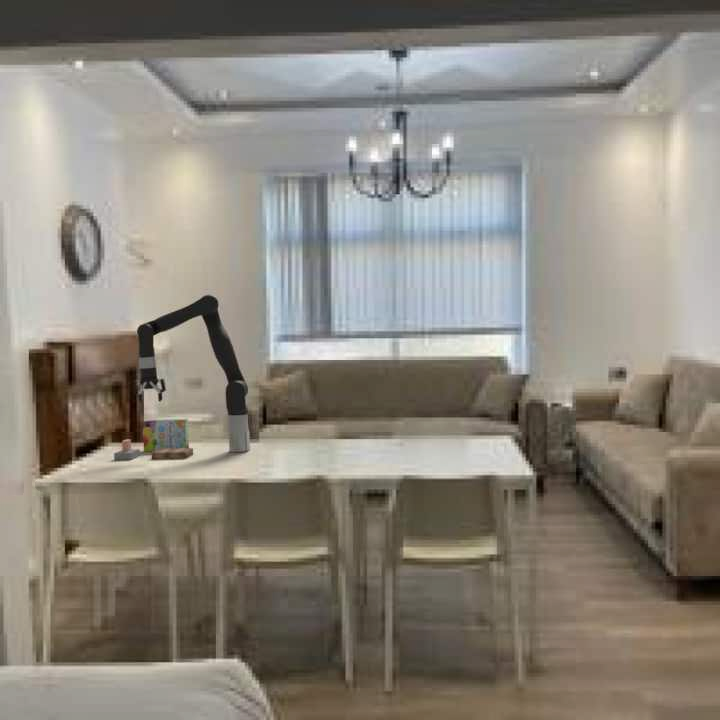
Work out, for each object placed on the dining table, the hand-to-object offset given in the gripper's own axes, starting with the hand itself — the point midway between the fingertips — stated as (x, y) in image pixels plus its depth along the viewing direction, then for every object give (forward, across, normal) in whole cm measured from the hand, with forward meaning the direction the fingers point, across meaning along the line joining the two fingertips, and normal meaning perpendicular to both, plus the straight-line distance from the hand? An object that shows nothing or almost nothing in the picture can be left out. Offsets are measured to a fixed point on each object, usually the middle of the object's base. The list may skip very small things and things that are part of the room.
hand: (150, 402), depth 424 cm
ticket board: (+26, -9, +4) cm, 28 cm away
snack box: (+25, -1, -18) cm, 31 cm away
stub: (+25, +12, +4) cm, 28 cm away
